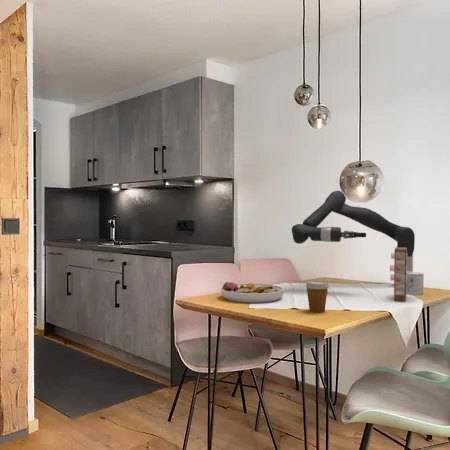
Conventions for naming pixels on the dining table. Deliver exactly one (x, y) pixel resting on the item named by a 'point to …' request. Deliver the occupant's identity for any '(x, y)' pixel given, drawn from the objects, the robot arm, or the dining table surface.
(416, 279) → the light bulb box
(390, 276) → the bottom button
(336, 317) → the dining table surface
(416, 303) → the dining table surface
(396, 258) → the wooden peg board
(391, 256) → the top button
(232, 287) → the bowl
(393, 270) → the middle button
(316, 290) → the disposable coffee cup
